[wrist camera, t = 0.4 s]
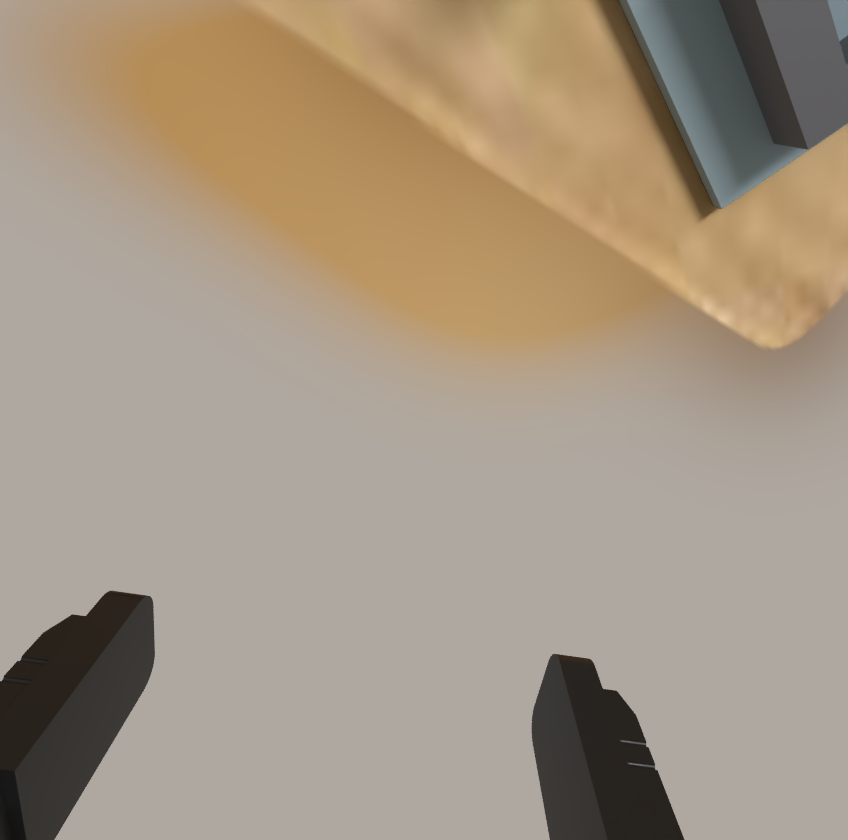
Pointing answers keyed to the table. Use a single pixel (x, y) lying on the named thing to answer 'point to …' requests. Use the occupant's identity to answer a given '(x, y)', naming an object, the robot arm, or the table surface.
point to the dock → (746, 80)
